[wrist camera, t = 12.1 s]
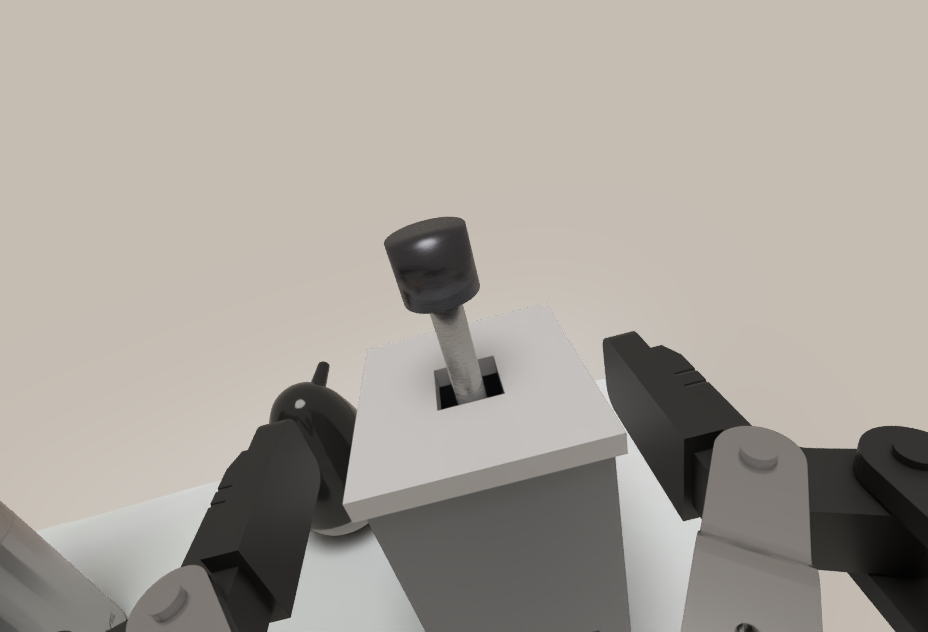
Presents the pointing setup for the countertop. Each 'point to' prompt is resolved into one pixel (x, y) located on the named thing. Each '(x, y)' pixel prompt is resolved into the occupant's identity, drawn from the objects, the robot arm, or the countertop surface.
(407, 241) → the plunger
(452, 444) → the press
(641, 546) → the countertop surface
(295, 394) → the black egg-shaped dispenser
